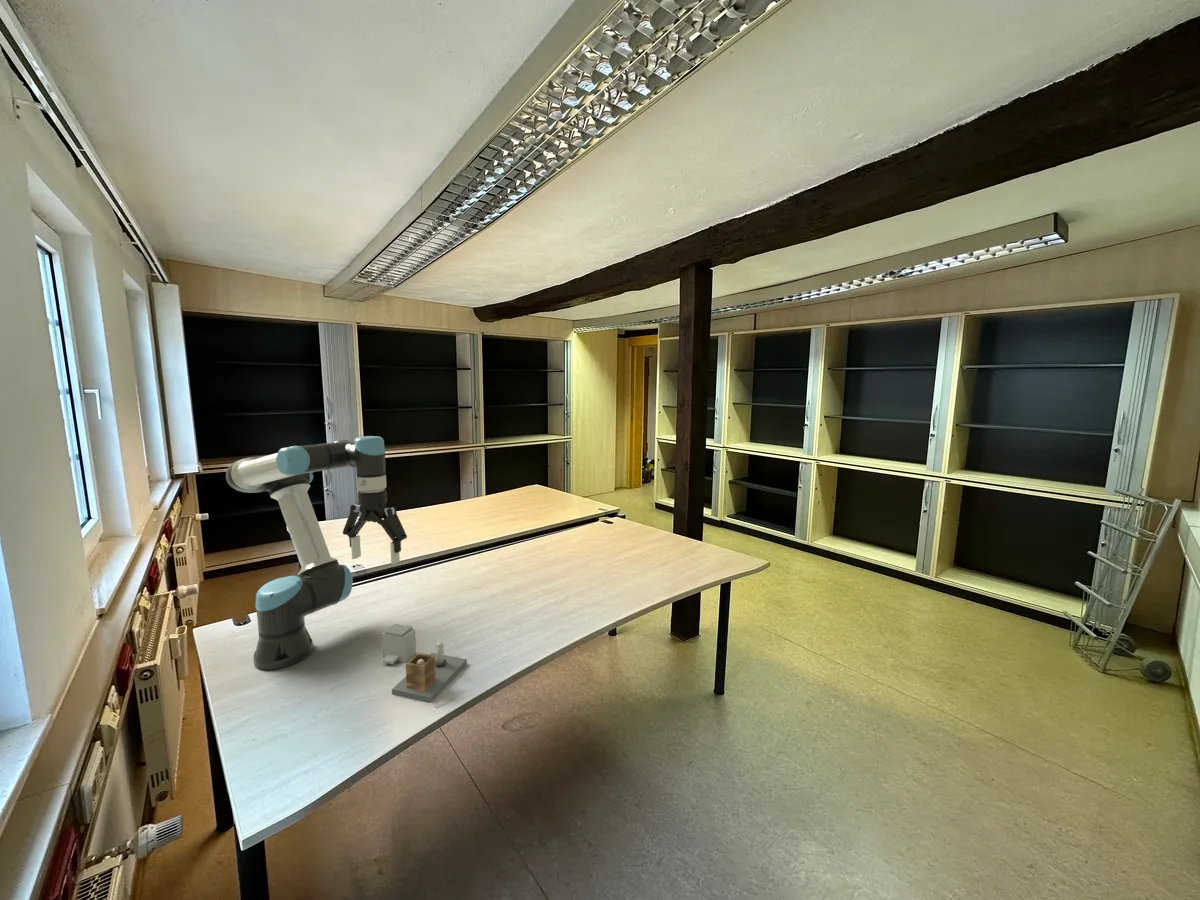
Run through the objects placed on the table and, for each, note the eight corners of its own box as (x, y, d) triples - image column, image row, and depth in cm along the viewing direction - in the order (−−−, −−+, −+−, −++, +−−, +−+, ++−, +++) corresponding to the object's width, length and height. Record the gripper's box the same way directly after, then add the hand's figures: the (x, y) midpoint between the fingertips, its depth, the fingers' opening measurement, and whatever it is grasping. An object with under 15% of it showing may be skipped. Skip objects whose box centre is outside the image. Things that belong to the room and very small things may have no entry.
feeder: (376, 663, 139) (374, 636, 138) (394, 649, 146) (393, 623, 145) (398, 668, 137) (397, 640, 136) (416, 653, 144) (415, 626, 143)
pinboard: (392, 694, 125) (390, 665, 124) (431, 657, 142) (431, 631, 141) (430, 702, 122) (429, 672, 121) (466, 663, 139) (466, 637, 138)
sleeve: (406, 687, 126) (405, 663, 125) (419, 675, 131) (418, 652, 130) (423, 691, 124) (423, 667, 123) (435, 679, 130) (435, 655, 129)
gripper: (326, 489, 133) (330, 560, 136) (400, 496, 127) (403, 569, 130) (346, 484, 140) (350, 551, 143) (417, 490, 134) (420, 560, 137)
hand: (375, 560), depth 136 cm, fingers open, 13 cm apart
